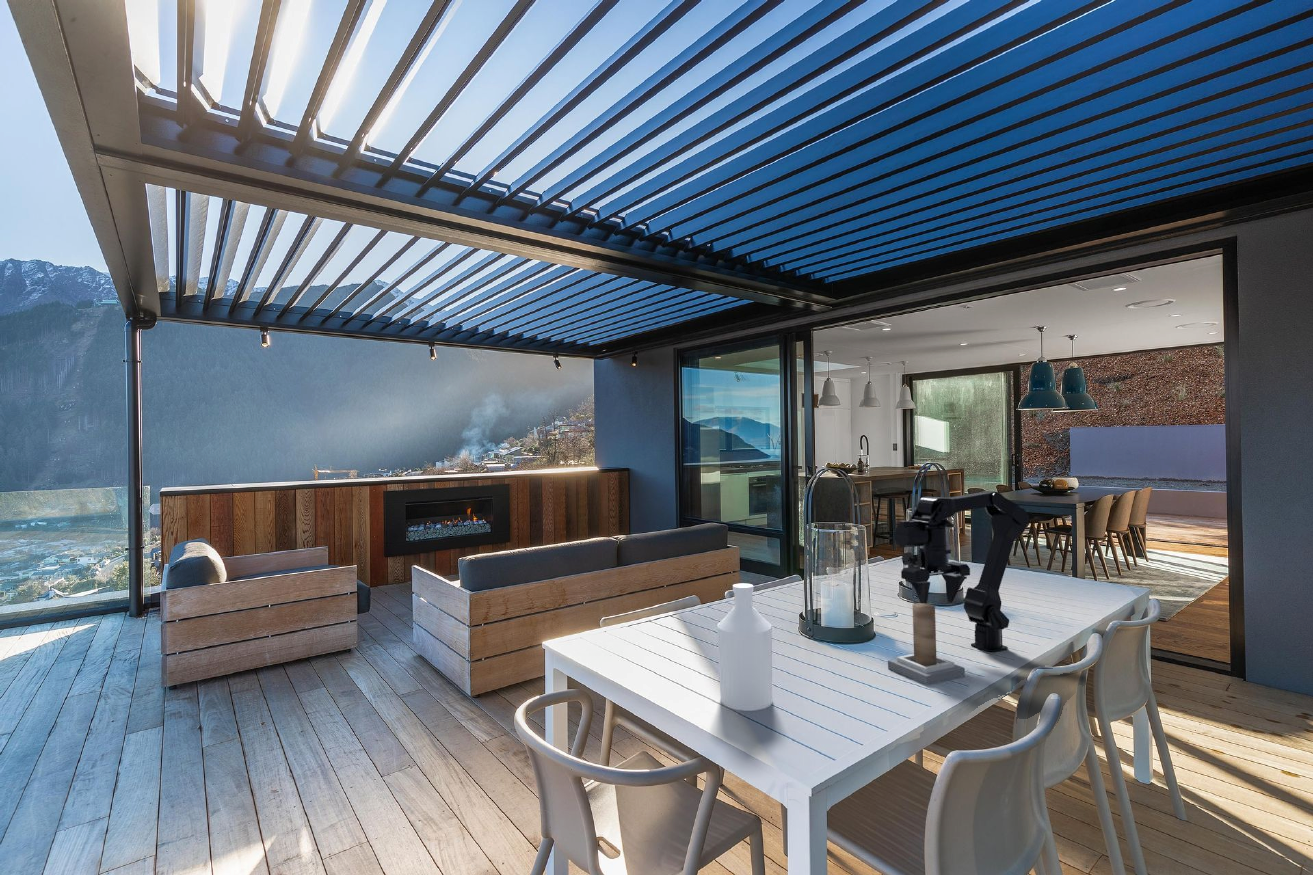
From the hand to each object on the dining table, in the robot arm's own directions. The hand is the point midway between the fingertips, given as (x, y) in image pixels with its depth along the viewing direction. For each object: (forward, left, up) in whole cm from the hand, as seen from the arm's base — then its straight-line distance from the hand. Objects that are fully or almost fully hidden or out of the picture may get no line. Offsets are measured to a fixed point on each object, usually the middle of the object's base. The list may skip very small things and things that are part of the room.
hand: (937, 604), depth 159 cm
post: (+13, +8, -11) cm, 19 cm away
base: (+13, +8, -13) cm, 20 cm away
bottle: (+60, +3, -13) cm, 62 cm away
